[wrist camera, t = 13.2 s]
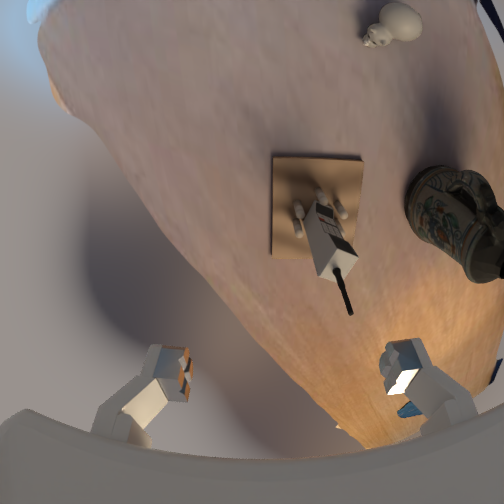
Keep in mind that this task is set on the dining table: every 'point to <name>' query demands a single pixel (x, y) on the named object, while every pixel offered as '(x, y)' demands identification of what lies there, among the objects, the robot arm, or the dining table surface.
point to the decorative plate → (408, 408)
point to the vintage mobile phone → (329, 247)
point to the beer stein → (459, 219)
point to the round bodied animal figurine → (394, 25)
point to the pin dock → (312, 199)
